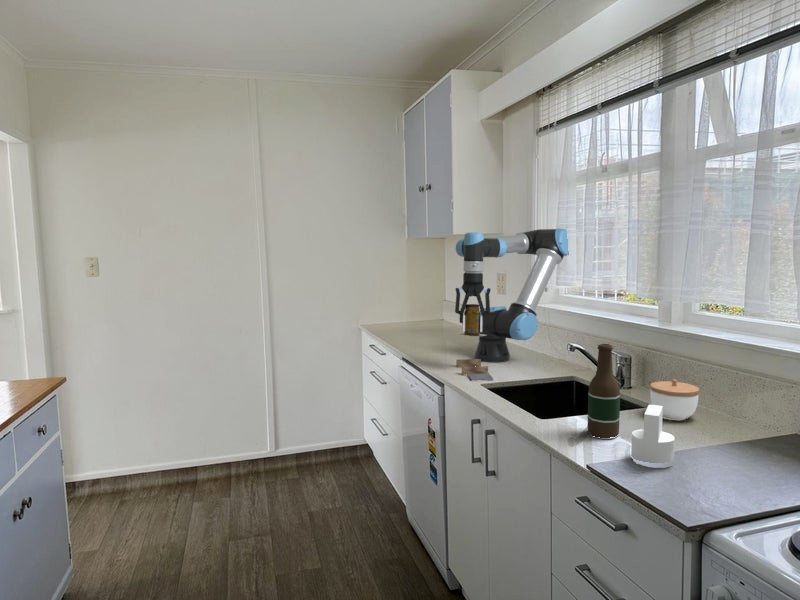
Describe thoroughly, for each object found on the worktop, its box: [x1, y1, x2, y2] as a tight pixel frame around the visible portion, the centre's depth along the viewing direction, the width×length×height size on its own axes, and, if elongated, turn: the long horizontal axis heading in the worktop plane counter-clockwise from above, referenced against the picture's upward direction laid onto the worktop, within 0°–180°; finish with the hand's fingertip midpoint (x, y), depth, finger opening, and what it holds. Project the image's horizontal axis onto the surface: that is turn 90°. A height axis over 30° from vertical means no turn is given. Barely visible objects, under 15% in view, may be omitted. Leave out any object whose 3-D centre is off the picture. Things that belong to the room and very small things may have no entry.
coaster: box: [467, 372, 494, 381], centre depth 209 cm, size 8×8×1 cm
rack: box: [456, 358, 489, 376], centre depth 222 cm, size 10×15×3 cm, turn 3°
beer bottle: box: [587, 343, 621, 438], centre depth 144 cm, size 8×8×24 cm
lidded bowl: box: [649, 378, 700, 419], centre depth 159 cm, size 13×13×11 cm
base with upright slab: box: [630, 404, 676, 463], centre depth 127 cm, size 9×9×12 cm
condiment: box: [460, 303, 485, 337], centre depth 217 cm, size 7×8×12 cm
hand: (472, 331), depth 218 cm, fingers closed on condiment, 6 cm apart
